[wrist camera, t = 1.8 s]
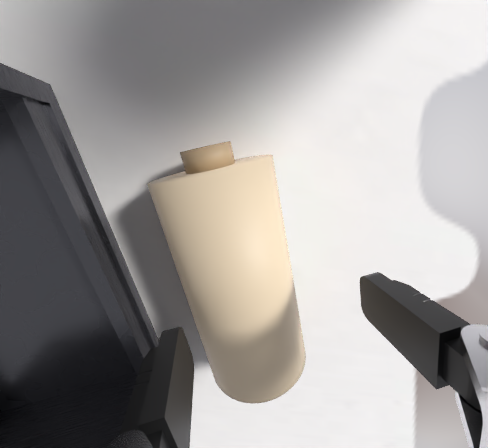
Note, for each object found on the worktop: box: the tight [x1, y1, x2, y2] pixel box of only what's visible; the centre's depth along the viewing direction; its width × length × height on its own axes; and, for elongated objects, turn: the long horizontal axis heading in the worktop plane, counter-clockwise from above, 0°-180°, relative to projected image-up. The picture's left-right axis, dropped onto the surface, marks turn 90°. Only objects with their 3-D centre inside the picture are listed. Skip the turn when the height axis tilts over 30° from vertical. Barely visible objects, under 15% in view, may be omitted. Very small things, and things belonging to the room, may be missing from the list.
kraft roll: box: [147, 141, 305, 403], centre depth 13 cm, size 14×6×6 cm, turn 12°
